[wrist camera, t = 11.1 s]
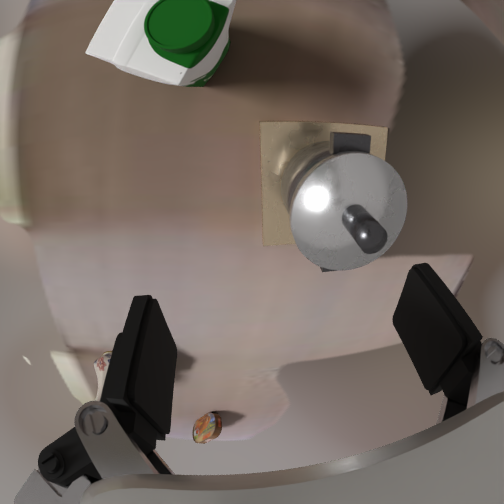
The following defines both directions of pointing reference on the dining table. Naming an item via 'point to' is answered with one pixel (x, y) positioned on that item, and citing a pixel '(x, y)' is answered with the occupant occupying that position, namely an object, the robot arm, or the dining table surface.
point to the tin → (207, 428)
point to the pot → (303, 163)
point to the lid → (348, 210)
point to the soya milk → (165, 39)
